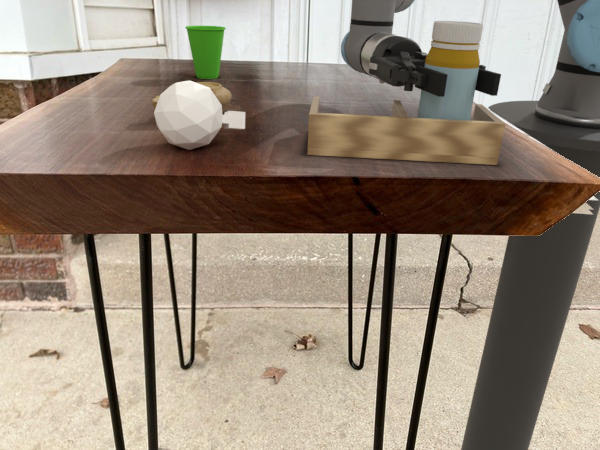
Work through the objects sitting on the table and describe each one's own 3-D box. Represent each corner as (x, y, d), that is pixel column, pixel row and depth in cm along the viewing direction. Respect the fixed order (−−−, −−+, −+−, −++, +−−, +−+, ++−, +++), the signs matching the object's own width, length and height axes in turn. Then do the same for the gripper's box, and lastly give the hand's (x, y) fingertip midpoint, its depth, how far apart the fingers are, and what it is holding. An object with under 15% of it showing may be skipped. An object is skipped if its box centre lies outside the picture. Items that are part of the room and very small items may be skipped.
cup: (229, 80, 120) (228, 29, 116) (189, 80, 118) (186, 28, 114) (224, 74, 128) (223, 25, 124) (186, 74, 126) (183, 25, 121)
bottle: (467, 133, 76) (486, 22, 70) (465, 145, 70) (486, 26, 64) (418, 127, 78) (433, 19, 72) (412, 139, 72) (428, 22, 66)
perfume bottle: (159, 147, 65) (252, 151, 70) (159, 71, 64) (253, 80, 69) (148, 149, 73) (233, 153, 77) (149, 81, 72) (234, 90, 77)
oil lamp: (149, 125, 82) (146, 92, 79) (179, 106, 94) (177, 77, 92) (216, 129, 81) (215, 96, 78) (237, 109, 94) (236, 80, 91)
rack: (475, 140, 80) (482, 104, 78) (497, 165, 69) (505, 123, 67) (311, 132, 81) (313, 96, 79) (307, 155, 70) (309, 114, 68)
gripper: (442, 82, 91) (530, 113, 71) (333, 83, 85) (395, 116, 65) (449, 36, 87) (543, 54, 68) (336, 34, 82) (402, 53, 62)
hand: (470, 85), depth 67 cm, fingers closed on bottle, 7 cm apart
